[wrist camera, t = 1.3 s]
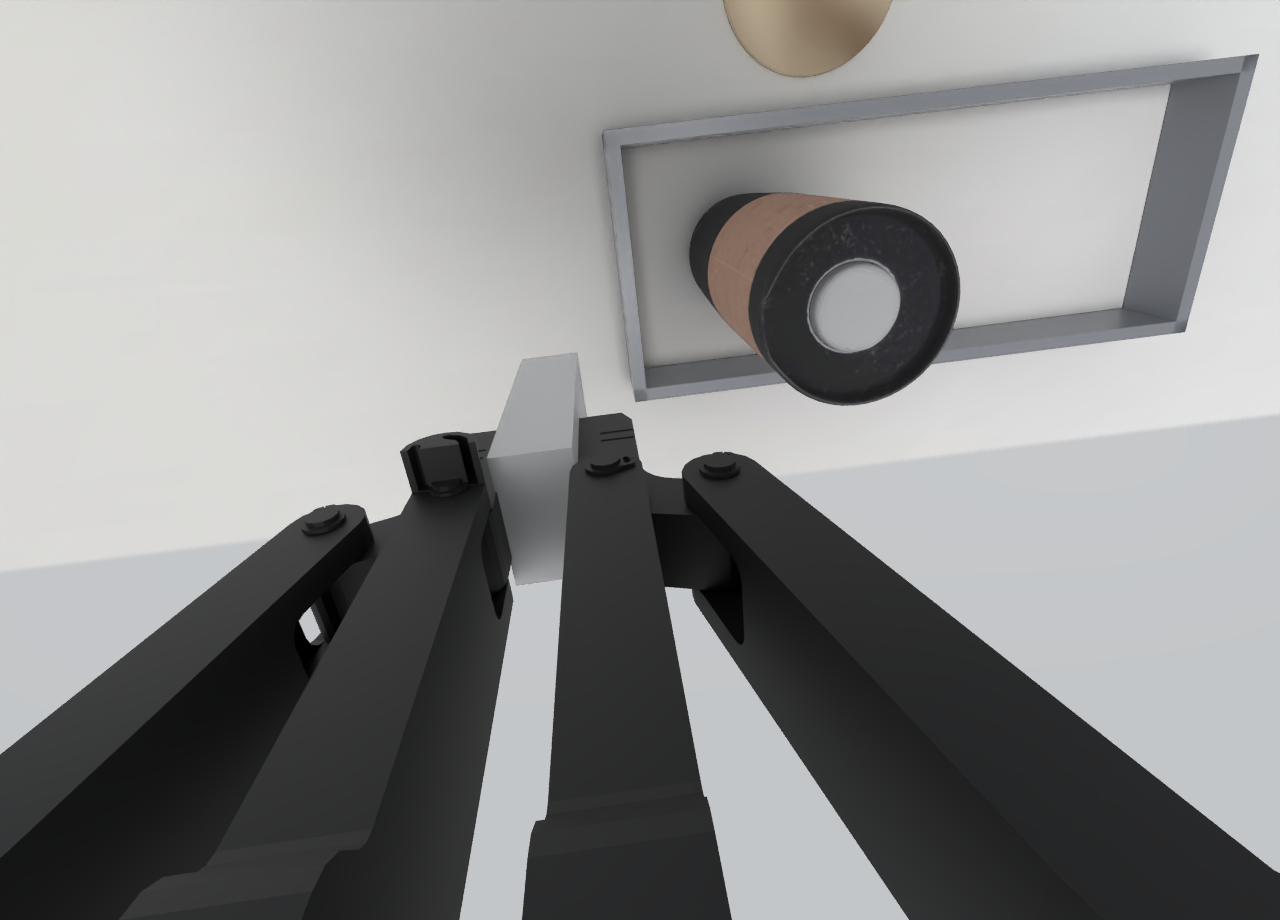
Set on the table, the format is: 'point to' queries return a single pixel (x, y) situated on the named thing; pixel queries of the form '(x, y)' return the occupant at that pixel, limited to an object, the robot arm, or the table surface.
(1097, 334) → the tray
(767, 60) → the cork coaster
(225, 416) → the table surface
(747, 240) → the travel mug
